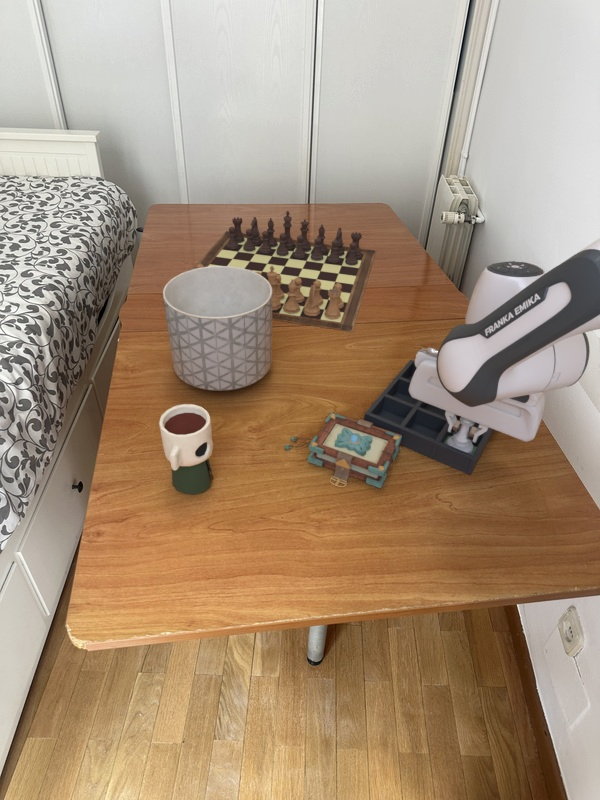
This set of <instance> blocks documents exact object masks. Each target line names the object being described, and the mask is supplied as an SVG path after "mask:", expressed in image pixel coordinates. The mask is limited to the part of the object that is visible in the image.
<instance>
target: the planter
mask: <svg viewBox="0 0 600 800" xmlns="http://www.w3.org/2000/svg"><path fill="white" fill-rule="evenodd" d="M162 298H163V302H164V303H163V304H164V305H163V306H164V313H165V321H166V327H167V335H168V342H169V348H170V356H171V363H172V368H173V371H174V373H175V374H176V376H177V377H178V378H179V379H180V380H181V381H182V382H184V383H185V384H187V385H189V386H191V387H194V388H197V389H201V390H206V391H215V392H216V391H217V392H223V391H225V392H226V391H234V390H239V389H243V388H245V387H248V386H251V385H253V384H256V382H258V381H260V380H262V379H263V378H264V377H265V376H266V375H267V374H268V373H269V371H270V370H271V367H272V364H273V320H272V287H271V285H270V283H269V282H268V281H267V280H266V279H265V278H264V277H263V276H261V275H259V274H257V273H255V272H253V271H250V270H247V269H243V268H238V267H230V266H210V267H202V268H197V269H193V270H192V269H190V270H189V271H186V270H185V271H184V272H182V273H178V274H177V275H176V276H174V277H172V278H171V279H170V280H168V282H166V284H165V286H164V287H163V290H162Z"/></svg>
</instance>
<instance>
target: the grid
mask: <svg viewBox="0 0 600 800" xmlns="http://www.w3.org/2000/svg"><path fill="white" fill-rule="evenodd" d="M416 369H417V368H416V366H415V360H413V359H409V361H408V362H407V363H406V364H405V365H404V366H403V367H402V368H401V370H400V371H399V372H398V374H397V375H396V376H395V377H394V378H393V380H391V381H390V383H389V384H388V385H387V386H386V388H385V389H384V390H383V391H382V392H381V394H380V395H379V396H378V397H377V398H376V399H375V400H374V402H372V404H371V405H370V406H369V408H368V409H367V410H366V411H365V412H364V417H363V420H366V421H369V422H372V423H373V426H376V427H379V428H382V429H385V430H388V431H391V432H394V433H397V434H400V435H402V438H401V442H400V445H399V446H401V447H404V448H406V449H408V450H411V451H413V452H416V453H418V454H420V455H422V456H425V457H426V458H429V459H431V460H433V461H436V462H439V463H440V464H443V465H446V466H448V467H451V468H453V469H455V470H457V471H460V472H462V473H464V474H466V475H469V476H472V474H473V472H474V470H475V468H476V466H477V465H478V463H479V461H480V459H481V457H482V456H483V453H484V452H485V449H486V448H487V445H488V444H489V442H490V440H491V438H492V436H493V434H494V432H495V430H494V429H491V428H488V430H487V431H486V432H484V433H483V434H481V435H479V437H478V439H477V441H476V443H475V442H472V441H471V442H472V444H473V450H472V454H469V453H466V452H464V451H461V450H459V449H457V448H454V447H452V446H449V445H447V444H446V443H447V440H448V438H450V437H451V436H454V434H453V433H450V432H448V428H449V424H448V421H447V419H446V416H445V412H446V411H445V410H443V409H440V408H438V407H435V406H433V405H430V404H427V403H425V402H422V401H420V400H417V399H415V398H412V397H411V395H410V393H409V386H410V383H411V380H412V377H413V375H414V372H415V370H416ZM455 415H456V414H455ZM460 417H461V416H458V415H456V418H457V420H458V421H460ZM461 426H462V424H461V425H460V428H461ZM473 427H476V428H478V427H479V423H476V422H475V424H474V425H473ZM471 428H472V426H471V427H470V428H469V431H470V430H471ZM459 430H460V429H459ZM457 433H458V432H457Z"/></svg>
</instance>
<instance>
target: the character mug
mask: <svg viewBox="0 0 600 800" xmlns="http://www.w3.org/2000/svg"><path fill="white" fill-rule="evenodd" d="M158 424H159V425H158V426H159V431H160V437H161V443H162V448H163V452H164V455H165V458H166V460H167V461H168V462H170V467H171V480H172V481H171V483H172V487H174V488H175V490H176V491H178V492H179V493H183V494H186V495H194V496H195V495H198V494H202V493H204V492H205V491H207V490H208V489H209V488H210V487H211V480H212V481H213V480H214V475H213V471H212V465H211V463H210V458H211V456H212V453H213V449H214V441H213V438H212V436H213V435H212V429H213V427H212V420H211V416H210V414H209V411H207V410H206V409H205V408H203V407H202V406H200V405H196V404H194V403H193V404H191V403H183V404H182V403H181V404H177V405H174V406H172V407H170V408H168V409H167V410H165V411H164V412H163V413H162V414H161V416H160V418H159V422H158ZM210 476H211V477H210ZM210 478H211V480H210Z"/></svg>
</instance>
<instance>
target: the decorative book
mask: <svg viewBox="0 0 600 800" xmlns="http://www.w3.org/2000/svg"><path fill="white" fill-rule="evenodd" d="M401 438H402V435H400V434H397V433H394V432H391V431H388V430H385V429H382V428H379V427H376V426H373V423H372V422H369V421H366V420H364V419H361V418H359V419H354V418H352V417H349V416H346V415H343V414H339V413H337V412H330V413H329V415H328V416H327V418H326V419H325V421H324V425H323V426H322V428H320V429H319V432H318V434H317V435H314V437H313V438H309V437H298V436H296V437H294V436H291V437H290V441H292V442H295V443H296V442H297V441H298V440H309V441H310V442H306V443H303V444H300V445H297V446H295V445H292V444H286V445H285V444H284V449H285V450H290V449H291V448H300V447H302V446H304V445H308V444H309V445H308V446H307V447H308V451H309V452H310V454H309V455H308V456H307V462H308V463H310V464H313V465H316V466H318V467H321V468H322V467H326V468H328V469H331V470H333V471H334V474H333V475H331V477H330V478H329V483H330V484H331V485H333V486H334V487H338V488H346V487H347V485H348V480H349V478H350V477H352V478H354V479H357V480H361V481H363V482H365V483H366V484H367V485H370V486H373V487H376V488H378V489H382V487H383V485H384V483H385V481H386V480H387V476H388V471H389V469H390V468H391V466H392V463H393V462H395V460H396V458H397V456H398V454H399V452H400V446H401V445H400V442H401ZM333 481H335V482H333ZM339 484H342V485H339Z"/></svg>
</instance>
